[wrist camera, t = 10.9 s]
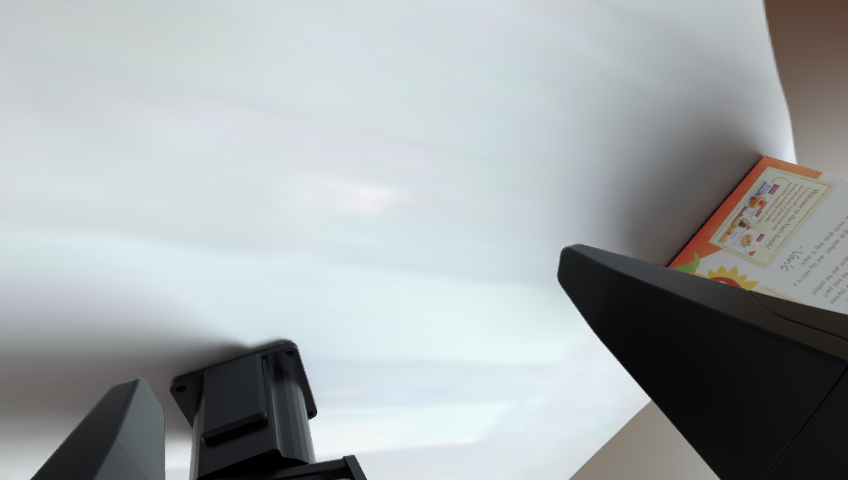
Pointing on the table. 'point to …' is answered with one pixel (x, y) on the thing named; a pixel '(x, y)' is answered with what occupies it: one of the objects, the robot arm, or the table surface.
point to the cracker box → (778, 237)
